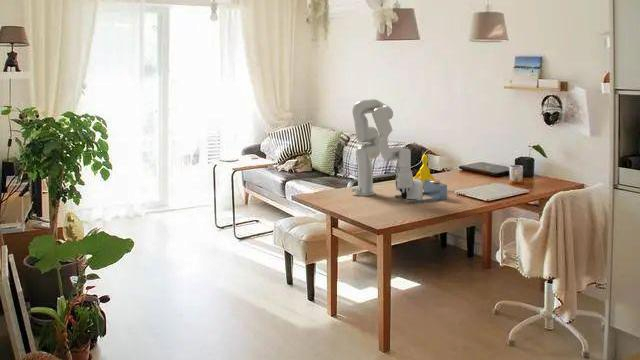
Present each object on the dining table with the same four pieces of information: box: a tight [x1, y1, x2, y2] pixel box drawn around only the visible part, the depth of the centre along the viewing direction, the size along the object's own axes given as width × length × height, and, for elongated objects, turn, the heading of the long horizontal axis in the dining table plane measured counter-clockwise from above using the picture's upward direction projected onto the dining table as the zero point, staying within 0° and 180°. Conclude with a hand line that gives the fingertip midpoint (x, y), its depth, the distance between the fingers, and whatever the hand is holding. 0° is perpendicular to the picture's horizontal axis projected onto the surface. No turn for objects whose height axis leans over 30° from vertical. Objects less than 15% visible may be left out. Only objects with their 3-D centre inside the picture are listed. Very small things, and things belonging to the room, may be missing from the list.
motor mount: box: [394, 179, 448, 205], centre depth 356 cm, size 26×19×10 cm
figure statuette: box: [413, 154, 437, 188], centre depth 387 cm, size 18×8×22 cm, turn 93°
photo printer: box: [406, 178, 424, 200], centre depth 356 cm, size 10×4×12 cm, turn 61°
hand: (404, 198), depth 353 cm, fingers closed
